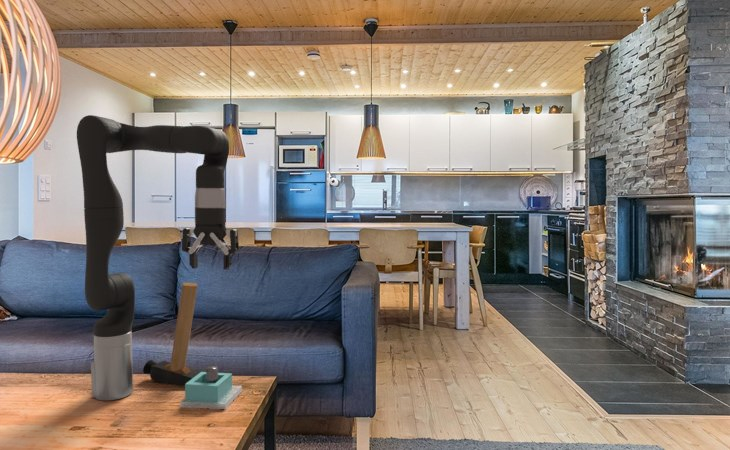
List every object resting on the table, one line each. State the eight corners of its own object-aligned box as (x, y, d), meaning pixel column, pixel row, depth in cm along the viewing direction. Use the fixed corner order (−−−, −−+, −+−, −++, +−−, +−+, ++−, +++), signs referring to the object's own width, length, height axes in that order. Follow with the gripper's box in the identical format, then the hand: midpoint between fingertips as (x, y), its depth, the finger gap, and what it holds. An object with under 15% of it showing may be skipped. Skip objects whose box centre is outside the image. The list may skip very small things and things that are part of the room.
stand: (180, 407, 124) (179, 375, 124) (200, 389, 136) (200, 359, 136) (225, 409, 123) (224, 377, 123) (241, 391, 135) (241, 361, 134)
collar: (185, 399, 126) (185, 384, 126) (201, 385, 135) (201, 371, 134) (217, 401, 125) (217, 386, 124) (232, 387, 133) (232, 373, 133)
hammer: (211, 389, 142) (227, 290, 139) (201, 395, 137) (217, 294, 134) (153, 370, 146) (167, 275, 143) (141, 376, 142) (155, 277, 138)
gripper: (176, 205, 121) (177, 270, 122) (231, 206, 119) (232, 271, 120) (190, 205, 128) (190, 265, 129) (242, 206, 127) (242, 267, 128)
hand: (210, 268), depth 125 cm, fingers open, 8 cm apart
